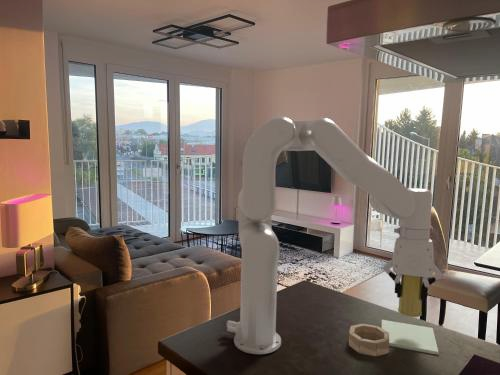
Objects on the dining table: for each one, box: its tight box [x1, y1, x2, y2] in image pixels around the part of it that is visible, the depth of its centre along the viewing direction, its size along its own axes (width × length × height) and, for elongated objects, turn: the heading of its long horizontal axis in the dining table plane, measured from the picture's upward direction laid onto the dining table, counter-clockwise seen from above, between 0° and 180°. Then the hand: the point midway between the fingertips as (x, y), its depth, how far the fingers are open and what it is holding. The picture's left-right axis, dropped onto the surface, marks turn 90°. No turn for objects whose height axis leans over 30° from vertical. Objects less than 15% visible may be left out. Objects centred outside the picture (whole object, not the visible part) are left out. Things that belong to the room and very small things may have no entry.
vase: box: [397, 275, 423, 318], centre depth 103 cm, size 6×6×14 cm
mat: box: [380, 319, 440, 356], centre depth 105 cm, size 14×14×1 cm
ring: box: [348, 323, 390, 357], centre depth 100 cm, size 10×10×4 cm
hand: (410, 297), depth 104 cm, fingers closed on vase, 5 cm apart
